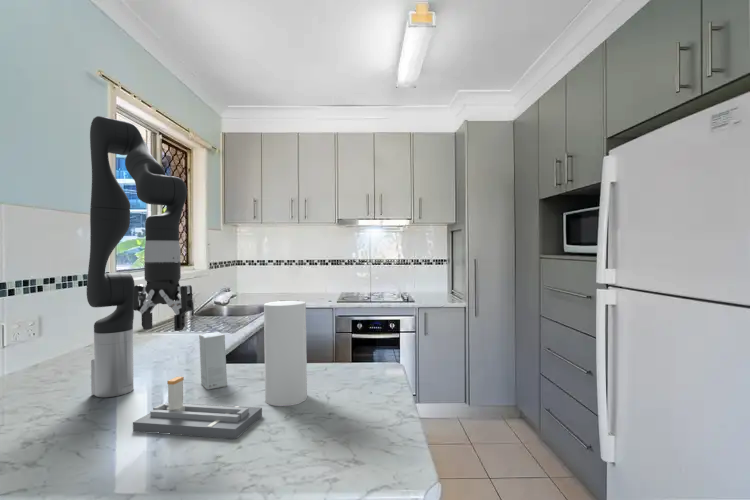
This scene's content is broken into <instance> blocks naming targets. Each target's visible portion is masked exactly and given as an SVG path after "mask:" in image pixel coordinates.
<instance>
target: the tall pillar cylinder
mask: <svg viewBox="0 0 750 500" xmlns="http://www.w3.org/2000/svg"><path fill="white" fill-rule="evenodd" d="M306 303H307V302H306V301H304V300H303V301H302V300H279V301H269V302H265V303H264V304H263V325H264V327H263V328H264V330H263V333H264V334H263V335H264V338H263V339H264V399H265V403H266V404H267V405H270V406H273V407H288V406H289V407H290V406H294V405H298V404H301V403H303V402H305V401H306V400H307V399H308V377H307V376H308V374H307V373H308V371H307V369H308V368H307V367H308V366H307V365H308V364H307V304H306Z"/></svg>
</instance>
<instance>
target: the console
mask: <svg viewBox="0 0 750 500" xmlns="http://www.w3.org/2000/svg"><path fill="white" fill-rule="evenodd" d="M183 405H185V411H170V410H167V408H168V402H166V403H160V404H158V405H157V406H154V407H152V410H151V411H149V413H148V414H146V415H144V416H142V417H140V418H138V419H136V420H134V421H132V432H133V433H134V432H136V433H146V432H159V433H158V434H160V433H170V434H169V435H174V434H182V435H181V436H187V435H192V436H191V437H201V436H202V438H204V437H205V438H216V439H218V438H219V439H231V440H237V438H238V437H240V436H241V435H242V434H243V433H244V432H246V431H247V430H248V429H249V428H250V427H251V426H253V425H254V424H255V423H256V422H257V421H258V420H259V419H261V418H262V417H263V407H260V406H259V407H257V406H238V405H224V404H223V405H222V404H221V405H219V404H201V403H187V402H183Z"/></svg>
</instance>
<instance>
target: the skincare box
mask: <svg viewBox="0 0 750 500" xmlns="http://www.w3.org/2000/svg"><path fill="white" fill-rule="evenodd" d="M198 336H199V358H200V359H199V360H200V361H199V362H200V383H201V385H202V386H203V387H204V388H205V389H206V390H211V389H212V390H213V389H218V388H219V389H220V388H225V387H228V375H227V358H226V354H227V353H226V335H225V334H223V333H221V332H219V331H215V332H208V333H201V334H198Z"/></svg>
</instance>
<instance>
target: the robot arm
mask: <svg viewBox="0 0 750 500" xmlns="http://www.w3.org/2000/svg"><path fill="white" fill-rule="evenodd" d="M89 128H90V129H89V144H90V145H89V146H90V147H89V148H90V162H91V191H90V192H91V193H90V195H91V196H90V208H89V209H90V210H89V211H90V213H89V226H90V235H89V236H90V237H89V239H90V241H89V242H90V245H89V247H90V249H89V259H88V271H87V278H86V279H87V280H86V299H87V302H88V304H89V306H90V307H91V308H105V307H106V308H107V307H116V308H115V310H114V311H113V312H112V313H110V314H109V315H107V316H105V317H103V318H100V319H98V320H96V321H95V322H94V324H93V350H94V351H93V353H94V355H93V358H92V359H91V361H90V374H91V375H90V377H91V378H90V379H91V381H90V383H91V384H90V386H91V391H90V393H91V395H93V396H94V397H96V398H112V397H118V396H123V395H126V394H128V393H130V392H133V391H134V389H135V387H134V319H135V312H137V311H138V312H139V313H140V314H141V327H142V329H143V330H146V331H147V330H151V329H153V312H152V311H153V310H154V309H155V306H157V305H159V304H161V305H167V306H168V307H169V308H170V309H171V310H172V311H173V313H175V314H174V315H173V321H174V324H173V325H174V327H173V328H174V331H175V332H180V331H183V330H184V329H185V327H186V321H185V320H186V313H189V312H192V311H193V310H194V301H193V299H194V298H193V287H192V285H190V284H189V285H182V286H181V285H180V280H181V277H182V276H181V275H182V274H181V273H182V272H181V269H182V268H181V245H180V223H181V217H182V214H183V209H184V206H185V203H186V201H187V196H188V188H187V184H186V183H185V181H184V180H183V179H182V178H180V177H178V176H173V175H172V176H171V175H166V172H165V169H164V168H163V166H161V164H160V163H159V162H158V160H157V159H155V158H154V156H153V155H152V154H151V151H150V150H149V147H148V145H147V143H146V141H145V139H144V137H143V135H142V133H141V131H140V130H139V128H138V127H137V126H136V125H135V124H133V123H131V122H129V121H125V120H121V119H117V118H111V117H106V116H101V115H97V116H95V117H93V119H92V121H91V124H90V127H89ZM109 154H115V155H121V156H125V160H124V165H125V168H126V171H127V173H128V175H129V176H130V177H131V178H132V179H133V180H134V183H135V189H136V190H135V191H136V196H137V198H138V199H139V201H141V202H142V203H145V204H147V205H154V206H155V205H156V206H166V208H165V210H164V212H163V213H162V214H153V215H149V216H148V217H146V219H145V229H144V230H145V246H144V253H143V254H144V255H143V256H144V262H143V263H144V264H143V265H144V272H143V273H144V281H146V284H136V285H135V279H134V277H133V275H132V274H131V273H130V272H108V273H107V272H106V269H107V264H108V260H109V258H110V256H111V255H112V252H113V251H114V250H115V248H116V247H117V246H118V245H119V243H120V242H121V241H122V240H123V238H124V237H125V235H126V234H127V232H128V230H129V228H130V223H131V202H130V199H129V198H128V197H129V196H128V195H127V194H126V193H125V190H124V189H123V188H122V186H121V185H120V182H118V179H116V176H115V175H114V173H113V171H112V168H111V165H110V160H109ZM179 295H180V296H179Z"/></svg>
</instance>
